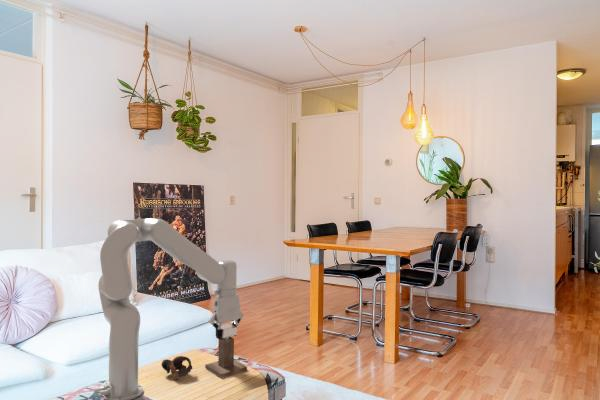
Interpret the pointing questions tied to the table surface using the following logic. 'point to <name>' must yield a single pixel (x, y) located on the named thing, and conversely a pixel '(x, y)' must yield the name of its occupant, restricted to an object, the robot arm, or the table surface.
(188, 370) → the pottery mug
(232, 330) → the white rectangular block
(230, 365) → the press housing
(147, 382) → the table surface
